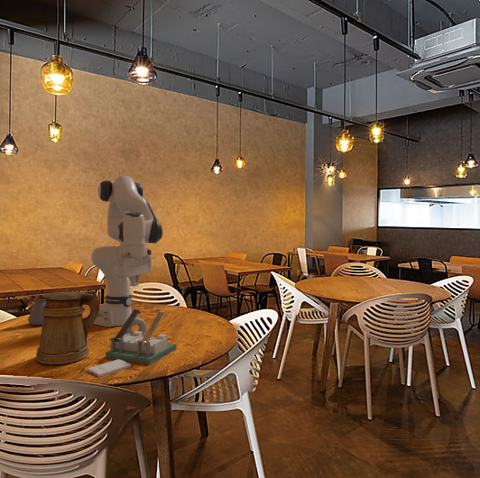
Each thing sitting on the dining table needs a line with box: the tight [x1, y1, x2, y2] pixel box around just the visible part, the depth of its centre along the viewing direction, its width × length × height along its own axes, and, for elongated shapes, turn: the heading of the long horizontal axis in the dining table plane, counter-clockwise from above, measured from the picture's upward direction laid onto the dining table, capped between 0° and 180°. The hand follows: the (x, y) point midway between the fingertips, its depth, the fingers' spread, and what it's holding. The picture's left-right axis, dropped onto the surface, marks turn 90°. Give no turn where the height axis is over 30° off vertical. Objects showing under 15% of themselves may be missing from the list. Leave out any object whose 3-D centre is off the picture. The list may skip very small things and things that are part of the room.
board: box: [105, 330, 177, 365], centre depth 162 cm, size 20×19×8 cm
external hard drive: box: [86, 359, 132, 378], centre depth 145 cm, size 2×8×12 cm
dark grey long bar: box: [114, 309, 141, 342], centre depth 163 cm, size 2×16×2 cm
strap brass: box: [140, 311, 166, 346], centre depth 158 cm, size 2×16×2 cm
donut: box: [124, 316, 148, 337], centre depth 179 cm, size 10×4×10 cm, turn 115°
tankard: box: [35, 289, 101, 365], centre depth 158 cm, size 18×24×25 cm
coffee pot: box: [27, 291, 73, 326], centre depth 208 cm, size 21×12×15 cm, turn 126°
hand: (134, 286), depth 167 cm, fingers closed
